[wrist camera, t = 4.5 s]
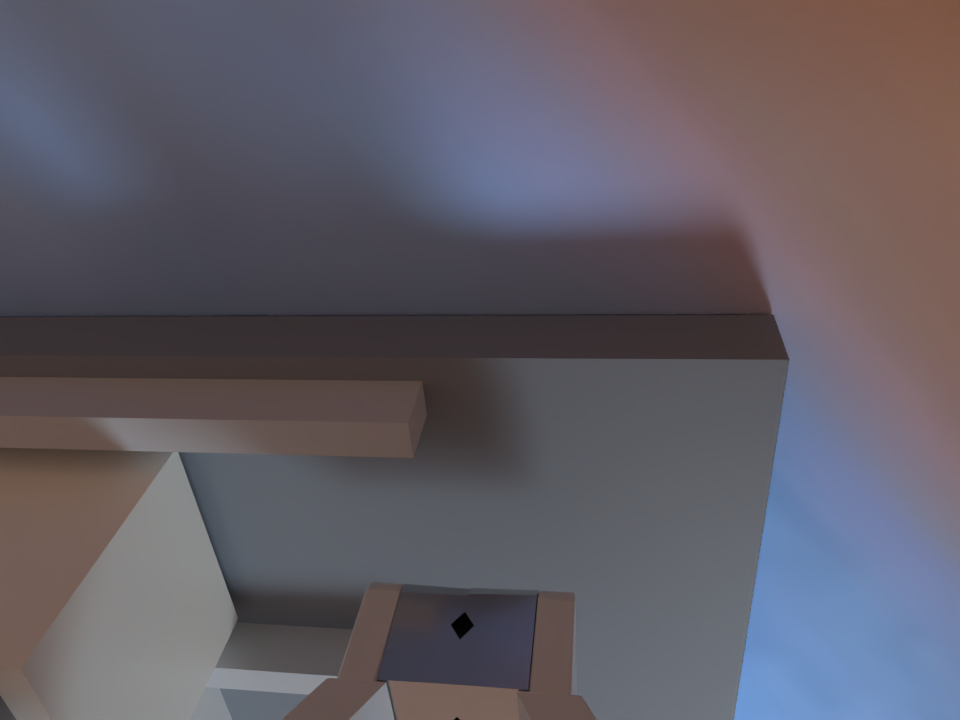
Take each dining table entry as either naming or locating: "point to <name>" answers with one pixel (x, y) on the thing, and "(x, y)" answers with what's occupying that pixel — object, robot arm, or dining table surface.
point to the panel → (443, 476)
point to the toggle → (105, 587)
